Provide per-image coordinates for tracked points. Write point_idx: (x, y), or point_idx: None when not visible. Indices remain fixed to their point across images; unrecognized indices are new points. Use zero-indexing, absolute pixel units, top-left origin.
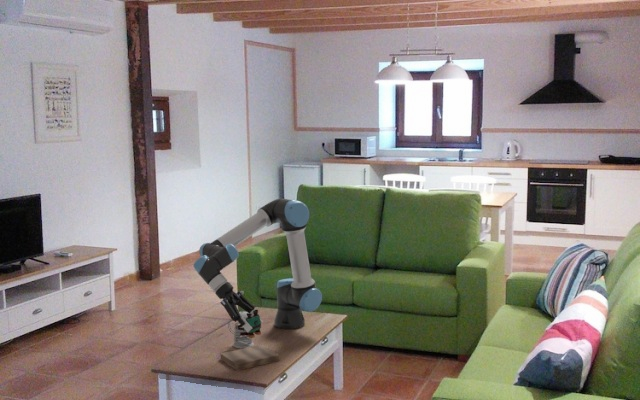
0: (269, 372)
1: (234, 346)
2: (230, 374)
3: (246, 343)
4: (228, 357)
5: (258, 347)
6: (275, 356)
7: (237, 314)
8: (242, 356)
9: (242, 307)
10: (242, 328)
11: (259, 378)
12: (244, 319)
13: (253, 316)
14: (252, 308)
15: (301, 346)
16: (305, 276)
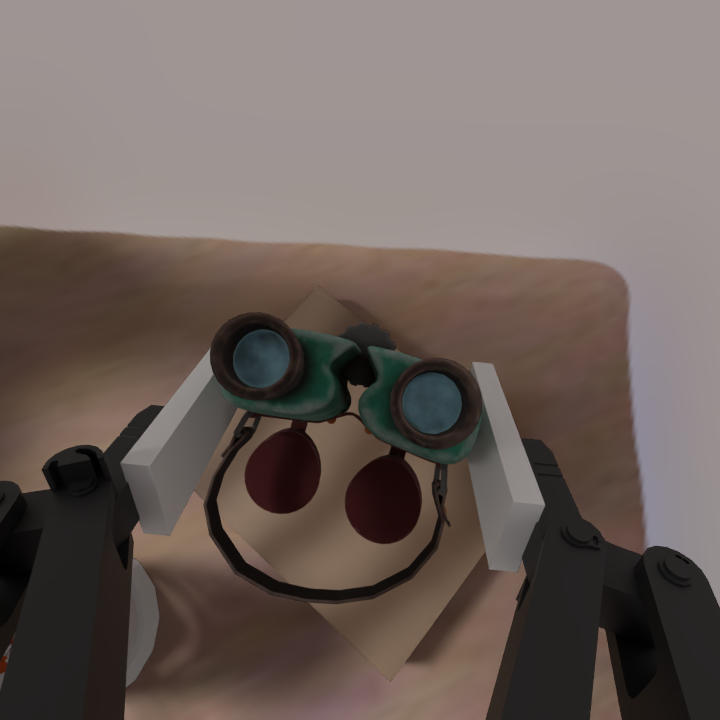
0: (497, 290)
1: (136, 672)
2: (599, 480)
3: None
4: (448, 581)
5: (217, 454)
6: (338, 303)
7: (597, 590)
8: None
9: (117, 694)
10: (443, 500)
11: (589, 308)
12: (512, 455)
13: (333, 382)
14: (80, 485)
15: (86, 260)
16: None
